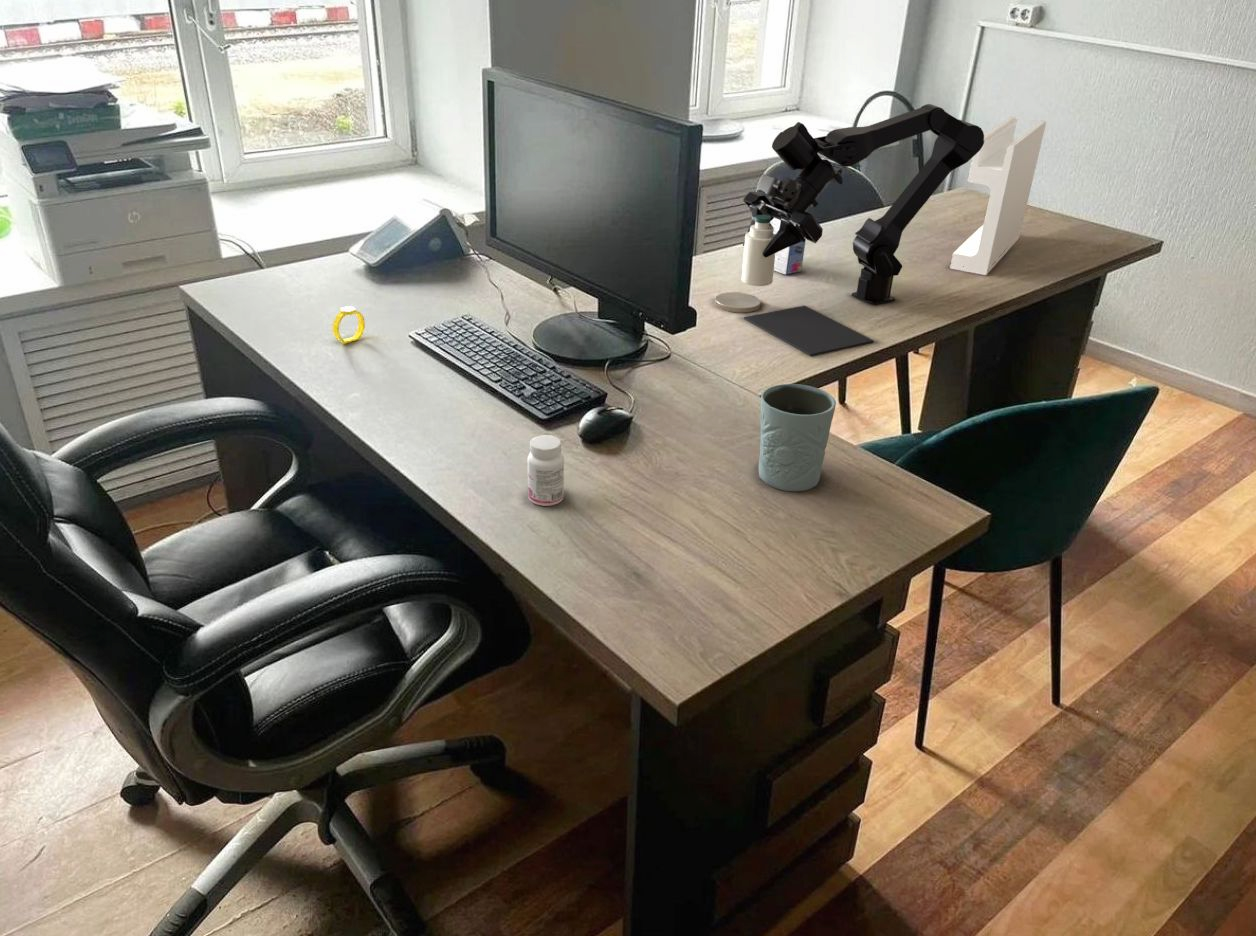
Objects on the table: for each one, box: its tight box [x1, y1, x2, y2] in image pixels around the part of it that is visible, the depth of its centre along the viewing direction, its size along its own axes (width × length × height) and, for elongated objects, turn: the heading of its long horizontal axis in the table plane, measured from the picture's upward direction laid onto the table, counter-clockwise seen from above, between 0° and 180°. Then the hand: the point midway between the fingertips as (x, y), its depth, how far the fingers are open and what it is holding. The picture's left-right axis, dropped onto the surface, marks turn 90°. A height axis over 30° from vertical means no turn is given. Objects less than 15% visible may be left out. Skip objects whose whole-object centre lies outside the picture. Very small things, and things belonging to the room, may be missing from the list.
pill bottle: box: [527, 434, 565, 507], centre depth 132 cm, size 5×5×8 cm
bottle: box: [740, 215, 776, 287], centre depth 191 cm, size 6×6×12 cm
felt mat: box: [743, 305, 874, 357], centre depth 190 cm, size 15×20×1 cm
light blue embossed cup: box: [758, 383, 837, 492], centre depth 139 cm, size 10×10×12 cm
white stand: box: [949, 116, 1047, 276], centre depth 231 cm, size 35×8×28 cm, turn 150°
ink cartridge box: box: [770, 213, 807, 275], centre depth 218 cm, size 10×6×14 cm, turn 41°
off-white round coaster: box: [714, 291, 761, 313], centre depth 200 cm, size 9×9×1 cm
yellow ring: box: [332, 305, 366, 344], centre depth 176 cm, size 6×3×6 cm, turn 142°
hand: (753, 251), depth 191 cm, fingers closed on bottle, 6 cm apart
